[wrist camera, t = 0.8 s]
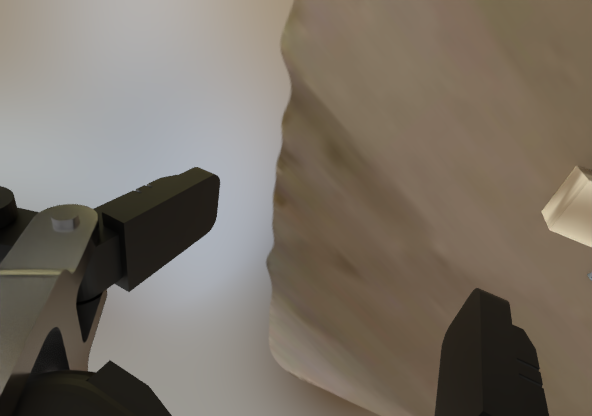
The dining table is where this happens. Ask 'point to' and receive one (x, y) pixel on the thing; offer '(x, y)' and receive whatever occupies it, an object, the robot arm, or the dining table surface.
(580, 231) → the beech block
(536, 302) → the dining table surface
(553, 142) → the dining table surface
